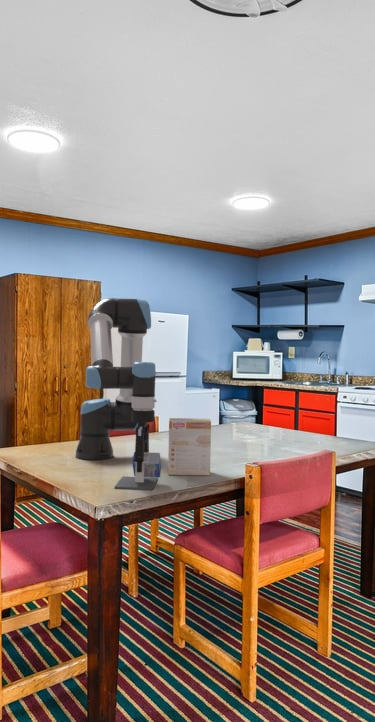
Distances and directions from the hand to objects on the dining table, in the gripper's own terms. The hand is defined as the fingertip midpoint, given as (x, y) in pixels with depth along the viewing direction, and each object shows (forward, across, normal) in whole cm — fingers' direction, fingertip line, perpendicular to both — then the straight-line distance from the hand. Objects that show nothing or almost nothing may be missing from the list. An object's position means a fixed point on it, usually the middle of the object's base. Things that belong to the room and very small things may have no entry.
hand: (141, 478), depth 172 cm
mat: (+2, 0, +2) cm, 2 cm away
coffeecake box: (+2, +18, -14) cm, 23 cm away
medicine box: (-5, 0, -6) cm, 8 cm away
